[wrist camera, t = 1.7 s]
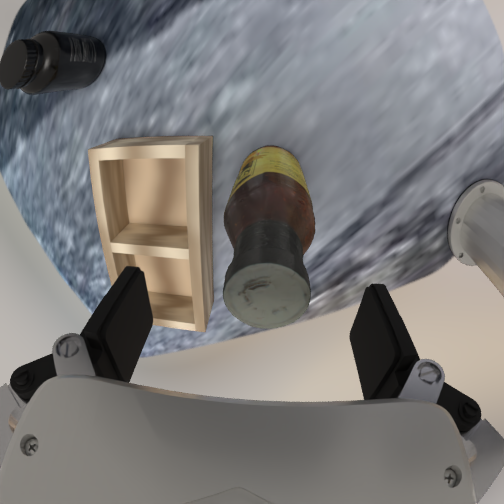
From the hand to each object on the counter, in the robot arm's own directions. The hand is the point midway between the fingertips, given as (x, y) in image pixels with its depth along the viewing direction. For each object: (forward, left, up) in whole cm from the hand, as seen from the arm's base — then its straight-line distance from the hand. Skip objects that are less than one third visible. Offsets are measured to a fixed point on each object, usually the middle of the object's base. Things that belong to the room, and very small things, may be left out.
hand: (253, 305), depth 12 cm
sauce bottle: (-1, 0, -21) cm, 21 cm away
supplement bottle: (+22, -14, -21) cm, 33 cm away
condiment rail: (+11, +7, -21) cm, 25 cm away
